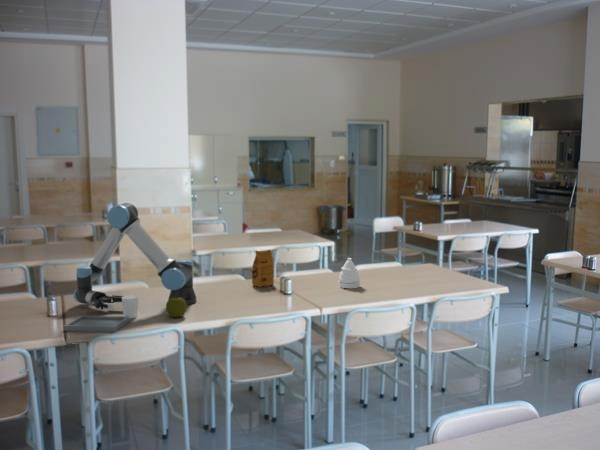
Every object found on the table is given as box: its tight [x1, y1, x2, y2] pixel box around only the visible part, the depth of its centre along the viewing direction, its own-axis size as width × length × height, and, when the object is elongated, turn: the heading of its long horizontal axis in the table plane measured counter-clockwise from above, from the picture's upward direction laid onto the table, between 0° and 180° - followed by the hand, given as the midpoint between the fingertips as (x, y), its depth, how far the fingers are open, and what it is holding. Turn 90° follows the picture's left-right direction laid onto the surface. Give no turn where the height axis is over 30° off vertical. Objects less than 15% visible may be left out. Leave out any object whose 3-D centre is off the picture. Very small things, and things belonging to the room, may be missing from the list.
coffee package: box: [251, 249, 275, 288], centre depth 373 cm, size 10×12×22 cm
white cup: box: [121, 294, 139, 319], centre depth 302 cm, size 8×8×10 cm
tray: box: [63, 315, 130, 333], centre depth 286 cm, size 24×18×2 cm
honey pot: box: [338, 257, 361, 289], centre depth 370 cm, size 13×13×18 cm
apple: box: [165, 297, 188, 318], centre depth 302 cm, size 10×10×11 cm
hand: (123, 304), depth 304 cm, fingers open, 13 cm apart
